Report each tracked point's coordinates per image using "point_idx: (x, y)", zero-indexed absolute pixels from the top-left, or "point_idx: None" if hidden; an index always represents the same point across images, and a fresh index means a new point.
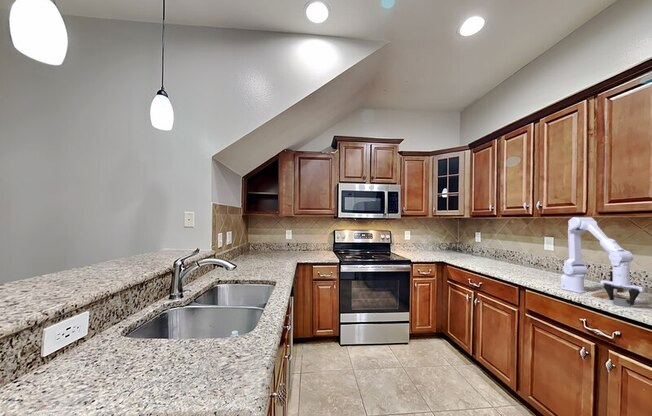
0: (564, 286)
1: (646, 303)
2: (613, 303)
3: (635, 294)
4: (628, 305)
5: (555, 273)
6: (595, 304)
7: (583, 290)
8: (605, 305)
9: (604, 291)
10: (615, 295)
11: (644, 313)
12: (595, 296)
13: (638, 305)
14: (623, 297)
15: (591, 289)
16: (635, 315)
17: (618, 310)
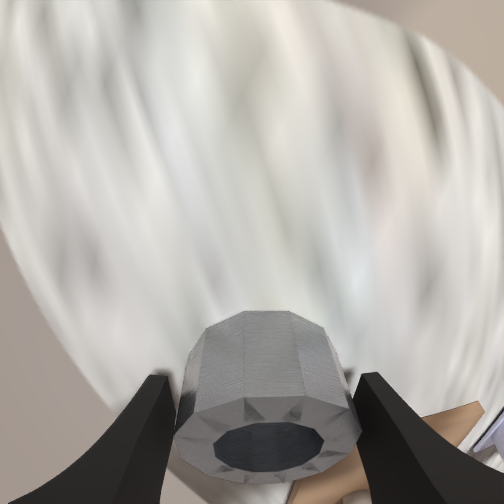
0: None
1: (204, 500)
2: (334, 349)
3: (34, 496)
4: (188, 365)
5: None
6: (448, 67)
7: (501, 431)
8: (372, 137)
9: None
10: (351, 497)
11: (8, 219)
12: (458, 409)
13: None
14: (261, 472)
15: None
16: (14, 20)
17: (168, 13)
